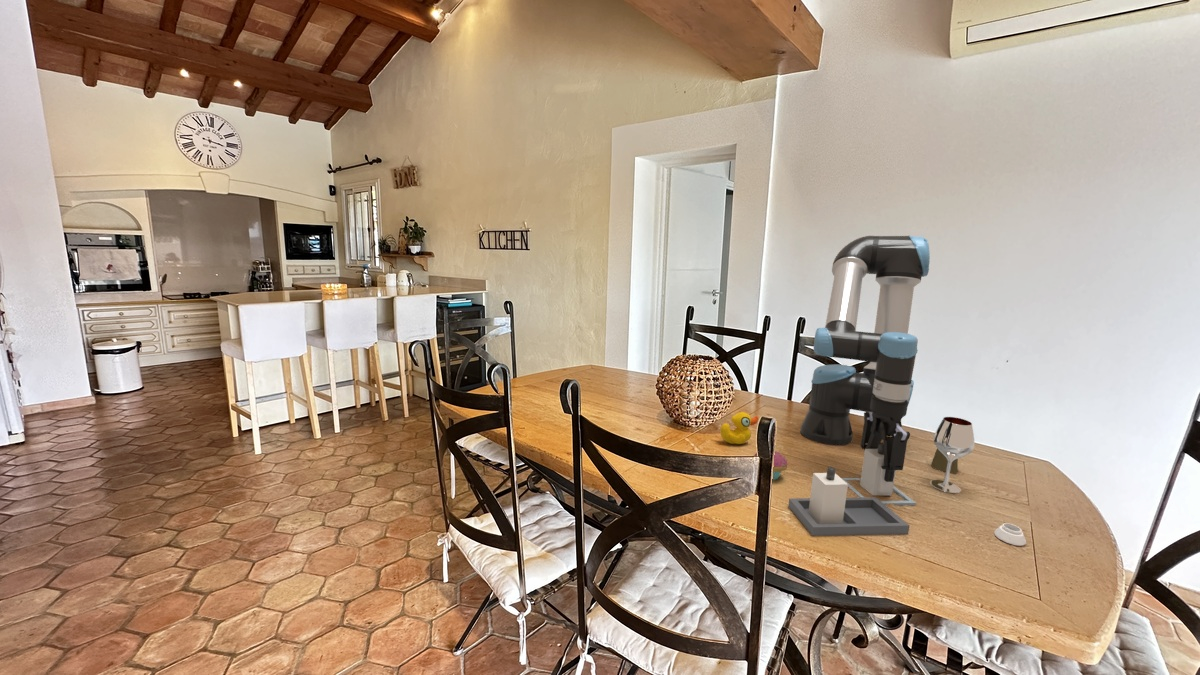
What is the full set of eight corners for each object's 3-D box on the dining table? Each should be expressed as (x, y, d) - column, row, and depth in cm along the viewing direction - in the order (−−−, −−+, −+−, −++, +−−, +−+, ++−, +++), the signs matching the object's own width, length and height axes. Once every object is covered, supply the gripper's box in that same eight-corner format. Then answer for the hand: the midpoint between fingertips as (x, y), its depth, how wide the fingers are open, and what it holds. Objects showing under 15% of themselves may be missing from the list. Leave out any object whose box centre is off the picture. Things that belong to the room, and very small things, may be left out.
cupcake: (757, 466, 127) (761, 425, 125) (789, 475, 122) (794, 433, 120) (747, 478, 120) (751, 436, 118) (781, 489, 116) (785, 444, 113)
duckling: (752, 439, 145) (755, 409, 143) (759, 446, 140) (762, 415, 138) (717, 439, 144) (719, 409, 142) (722, 447, 139) (725, 416, 137)
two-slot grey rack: (788, 508, 107) (789, 498, 107) (874, 506, 108) (876, 497, 108) (811, 537, 96) (813, 527, 96) (907, 536, 98) (909, 525, 97)
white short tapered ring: (1014, 549, 94) (1031, 545, 96) (1017, 536, 94) (1034, 532, 95) (988, 534, 99) (1004, 530, 100) (990, 522, 98) (1007, 518, 100)
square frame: (838, 480, 120) (838, 478, 120) (882, 479, 121) (882, 477, 121) (867, 505, 109) (867, 503, 109) (915, 505, 109) (916, 502, 109)
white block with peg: (859, 484, 117) (866, 439, 115) (878, 484, 118) (885, 439, 115) (872, 495, 113) (879, 448, 110) (891, 495, 113) (899, 448, 110)
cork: (962, 474, 125) (969, 436, 123) (937, 471, 126) (944, 434, 124) (950, 464, 131) (957, 427, 128) (926, 461, 132) (933, 425, 130)
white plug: (808, 513, 104) (814, 463, 102) (829, 513, 105) (836, 462, 102) (819, 526, 99) (826, 474, 97) (842, 526, 100) (849, 474, 97)
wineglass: (970, 498, 113) (984, 429, 109) (931, 491, 116) (943, 424, 112) (958, 482, 120) (970, 417, 117) (921, 476, 123) (932, 413, 120)
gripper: (852, 385, 119) (841, 468, 123) (901, 411, 101) (885, 506, 106) (880, 385, 119) (868, 467, 124) (933, 410, 101) (916, 505, 106)
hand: (876, 485), depth 115 cm, fingers closed on white block with peg, 5 cm apart
